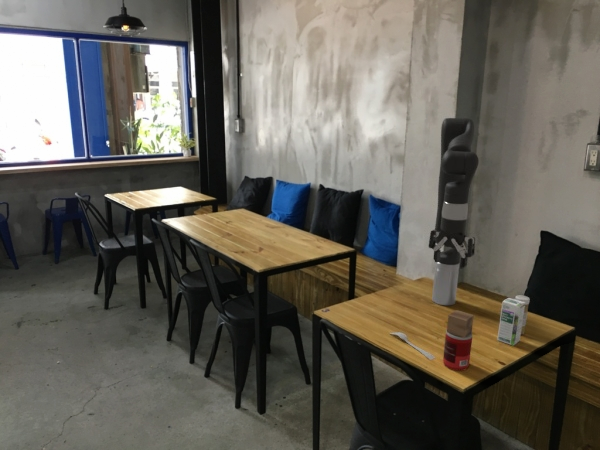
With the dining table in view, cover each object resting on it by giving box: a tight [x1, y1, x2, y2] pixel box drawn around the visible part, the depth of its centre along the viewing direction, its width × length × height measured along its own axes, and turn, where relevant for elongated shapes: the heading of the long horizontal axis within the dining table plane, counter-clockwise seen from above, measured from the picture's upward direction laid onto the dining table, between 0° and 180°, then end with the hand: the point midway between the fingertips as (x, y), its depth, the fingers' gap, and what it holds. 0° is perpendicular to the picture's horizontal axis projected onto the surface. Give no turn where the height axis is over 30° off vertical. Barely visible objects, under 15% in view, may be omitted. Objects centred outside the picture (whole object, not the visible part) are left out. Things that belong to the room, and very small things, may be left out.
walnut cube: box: [446, 309, 474, 338], centre depth 144 cm, size 6×6×6 cm
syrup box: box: [497, 297, 525, 347], centre depth 161 cm, size 6×6×14 cm
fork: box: [390, 331, 436, 360], centre depth 158 cm, size 3×21×3 cm, turn 31°
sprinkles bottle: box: [514, 294, 531, 335], centre depth 168 cm, size 5×5×13 cm
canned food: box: [442, 329, 473, 371], centre depth 146 cm, size 8×8×11 cm
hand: (449, 264), depth 152 cm, fingers open, 8 cm apart
